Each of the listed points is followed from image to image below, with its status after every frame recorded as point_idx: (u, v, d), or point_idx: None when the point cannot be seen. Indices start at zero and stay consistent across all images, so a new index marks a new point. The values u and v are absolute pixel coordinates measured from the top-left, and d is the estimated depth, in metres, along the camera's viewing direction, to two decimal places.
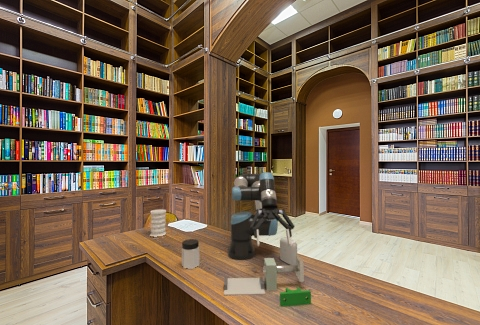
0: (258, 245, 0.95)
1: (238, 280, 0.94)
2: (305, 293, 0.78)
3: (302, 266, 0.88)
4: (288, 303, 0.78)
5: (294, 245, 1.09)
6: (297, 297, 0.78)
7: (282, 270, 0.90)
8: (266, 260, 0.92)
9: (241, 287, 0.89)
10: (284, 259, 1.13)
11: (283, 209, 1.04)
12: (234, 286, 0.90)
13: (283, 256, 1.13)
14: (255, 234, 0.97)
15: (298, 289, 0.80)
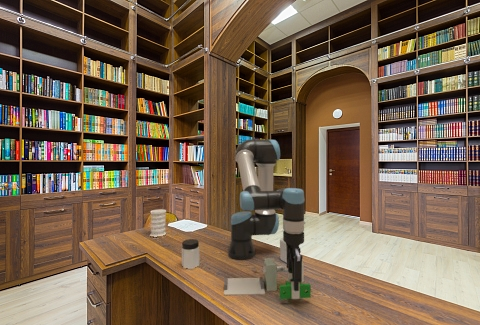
0: None
1: (238, 280, 0.94)
2: (305, 286, 0.79)
3: (302, 266, 0.88)
4: (287, 296, 0.78)
5: None
6: None
7: (282, 270, 0.90)
8: (266, 260, 0.92)
9: (241, 287, 0.89)
10: (284, 259, 1.13)
11: None
12: (234, 286, 0.90)
13: (283, 256, 1.13)
14: None
15: None
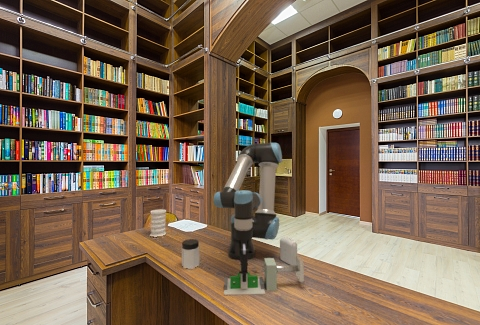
0: (243, 288, 0.88)
1: None
2: (252, 277, 0.89)
3: (302, 266, 0.88)
4: (237, 285, 0.88)
5: (294, 245, 1.09)
6: None
7: (282, 270, 0.90)
8: (266, 260, 0.92)
9: None
10: (284, 259, 1.13)
11: None
12: None
13: (283, 256, 1.13)
14: (246, 278, 0.87)
15: (248, 274, 0.91)
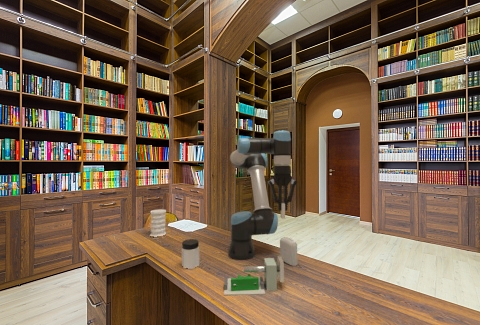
0: None
1: None
2: (253, 279, 0.87)
3: (282, 266, 0.88)
4: (238, 288, 0.87)
5: (294, 245, 1.09)
6: (246, 283, 0.87)
7: (263, 270, 0.90)
8: (266, 260, 0.92)
9: None
10: (284, 259, 1.13)
11: None
12: None
13: (283, 256, 1.13)
14: None
15: (248, 276, 0.89)
